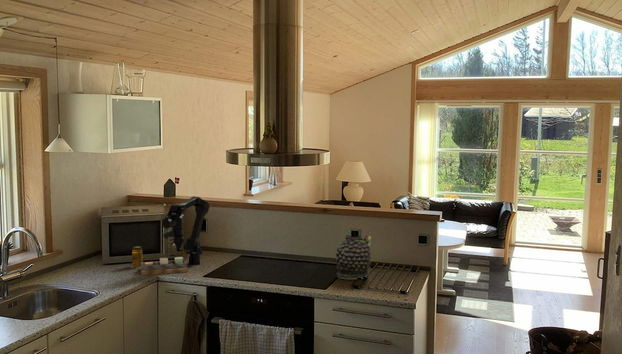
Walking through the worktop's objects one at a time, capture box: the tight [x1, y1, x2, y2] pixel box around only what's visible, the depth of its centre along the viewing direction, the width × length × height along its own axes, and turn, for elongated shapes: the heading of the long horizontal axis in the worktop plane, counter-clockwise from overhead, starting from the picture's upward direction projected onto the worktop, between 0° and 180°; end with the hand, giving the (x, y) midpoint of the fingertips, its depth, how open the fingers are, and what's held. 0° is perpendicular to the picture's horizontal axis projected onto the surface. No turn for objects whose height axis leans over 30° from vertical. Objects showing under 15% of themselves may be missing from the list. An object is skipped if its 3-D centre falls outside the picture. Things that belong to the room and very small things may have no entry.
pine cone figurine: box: [335, 234, 372, 280], centre depth 332 cm, size 21×15×25 cm
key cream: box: [159, 257, 169, 265], centre depth 343 cm, size 4×4×3 cm
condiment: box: [130, 245, 144, 269], centre depth 352 cm, size 7×8×12 cm
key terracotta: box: [144, 261, 154, 266], centre depth 340 cm, size 4×4×3 cm
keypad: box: [140, 259, 189, 276], centre depth 343 cm, size 26×14×4 cm, turn 108°
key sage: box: [174, 256, 184, 264], centre depth 345 cm, size 4×4×3 cm
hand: (177, 251), depth 345 cm, fingers closed
